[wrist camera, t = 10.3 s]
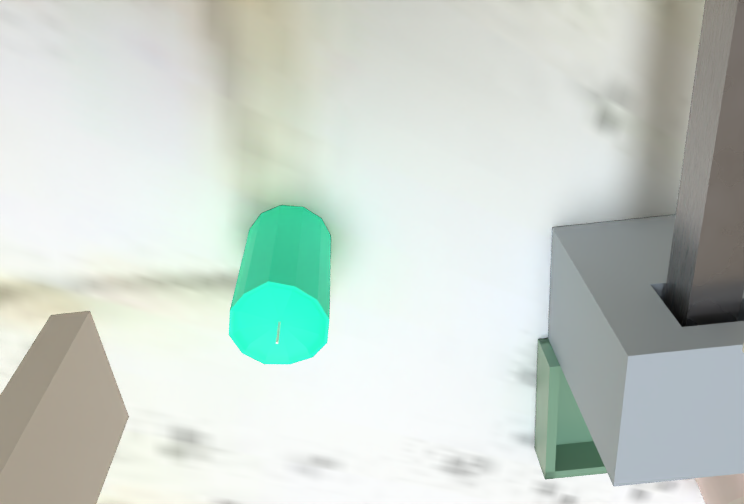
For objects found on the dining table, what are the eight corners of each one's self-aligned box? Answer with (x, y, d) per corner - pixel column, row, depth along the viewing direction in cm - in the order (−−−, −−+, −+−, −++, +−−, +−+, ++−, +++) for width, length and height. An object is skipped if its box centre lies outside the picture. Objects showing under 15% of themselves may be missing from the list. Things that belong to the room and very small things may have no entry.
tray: (538, 339, 55) (549, 367, 52) (708, 321, 55) (730, 348, 52) (534, 448, 61) (545, 479, 58) (688, 432, 61) (707, 463, 58)
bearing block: (552, 227, 50) (628, 355, 37) (717, 210, 50) (852, 333, 37) (548, 338, 55) (613, 486, 42) (698, 322, 55) (811, 466, 42)
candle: (343, 220, 49) (344, 316, 39) (315, 287, 52) (309, 394, 41) (261, 193, 48) (240, 285, 37) (237, 263, 50) (211, 368, 40)
